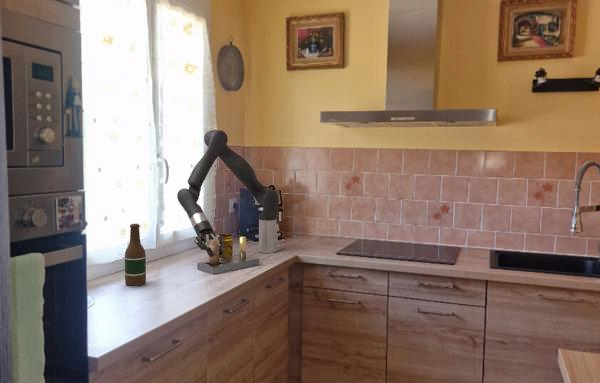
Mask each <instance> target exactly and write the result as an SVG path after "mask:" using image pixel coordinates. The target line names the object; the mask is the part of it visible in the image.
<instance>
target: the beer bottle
mask: <svg viewBox="0 0 600 383" xmlns="http://www.w3.org/2000/svg"><path fill="white" fill-rule="evenodd" d="M140 228H141V225H140V223H131V224H130V225H129V229H130V232H129V233H130V234H129V244H128V246H127V247H126V250H125V251H124V283H125V286H126V287H128V286H138V287H141V285H143V286H144V285H146V280H147V267H146V266H147V261H146V260H147V257H146V250H145V248H144V246H143V245H142V243H141V235H140V232H141V231H140Z"/></svg>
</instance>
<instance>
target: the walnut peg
mask: <svg viewBox="0 0 600 383" xmlns="http://www.w3.org/2000/svg"><path fill="white" fill-rule="evenodd" d="M209 246H210V247H209V248H211V250H212V252H213V254H214V255H213V256H212V257H210V256H209V255H208V256H209V257H208V261H209V265H211V266H215V265H219V256H220V255H219V240H218V239H212V240H209Z"/></svg>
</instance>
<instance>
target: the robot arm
mask: <svg viewBox="0 0 600 383" xmlns="http://www.w3.org/2000/svg"><path fill="white" fill-rule="evenodd" d="M228 140H229V137H228V135H227V133H226V132H225V131H224V130H221V129H214V130H208V131H207V132H206V133H205V134H204V136H203V141H204V144H205V146H206V147H207V149H206V150H205V152H204V155H203V156H202V157H201V158H200V160H199V161H198V162H197V163H196V164H195V166H194V167H193V169H192V170H191V173H190V175H189V177H188V179H187V184H188V185H189V186H188V188H184V187H183V188H180V189H179V190H178V192H177V194H176V197H177V201H178V203H179V204H180V205H181V208H182V209H184V211H185V213H186V214H187V216H188V219H189V221H190V224H191V226H192V228H193V230H194V232H195V234H196V237H195V239H194V240H193V242H194V243H195V244H196V245H197V247H198V248H199V249H200V250H201V251H206V253H207V255H208V256H210V257H212V256H213V255H214V254H213V252H212V250H211V248H209V247H210V246H209V240H212V239H218V240H219V256H221V255H222V254H223V250H222V248H221V246H222V245H223V240H222V235H221V234H222V233H219V234H216V233H215V232H214V229H213V227H212V224H211V223H210V221H209V218H208V217H207V216H206V214H205V212H204V211H203V208H202V207H201V206H200V205H199V204H198V203H197V202H198V201H199V199H200V196H201V195H200V193H201V191H202V186H203V184H204V182H205V180H206V178H207V175H208V174H209V172H210V171H211V168H212V167H213V165H214V163H215V162H216V161H217V159H218V158H219V159H220V160H221V161H222V162H223V164H224V165H225V166H226V167H227V168H228V169H229V171H231V173H232V174H233V175H234V176H235V177H236V178H237V179H238V181H240V183H241V184H242V185H244V187H245V188H246V189H247V190H248V191H249V192H250V193H251V196H252V197H253V198H254V199H255V201H257V203H258V204H259V205H260V206H262V212H261V213H259V215H258V252H259V253H263V254H271V253H272V254H273V253H276V252H277V251H279V250H278V242H279V241H278V240H279V238H278V235H279V234H278V232H277V217H278V215H279V205H280V203H279V201H280V199H279V197H280V196H279V193H278V192H277V191H276V190H275V189H269V188H266V187H265V186H264V185H263V184H262V183H261V182H260V181H259V179H258V177H257V175H256V171H255V170H254V168H253V167H252V166H251V164H249V162H248V161H247V160H246V159H245V158H244V157H242V156H241V155H240V154H238V153H237V152H235V151H234V150H232V149H231V148H230V147H229V146H228V145H227V144H228Z"/></svg>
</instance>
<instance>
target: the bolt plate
mask: <svg viewBox="0 0 600 383" xmlns="http://www.w3.org/2000/svg"><path fill="white" fill-rule="evenodd" d="M238 250H239V254H238V255H232V257H227V258H221V259H219V265H215V266H211V265H209V260H206V261H201V262H197V263H196V267H197V268H196V270H197V271H201V272H203V273H204V272H205V273H207V274H210V275H216V274H217V275H218V274H222V273H223V274H224V273H226V272H231V271H236V270H243V269H246V268H251V267H257V266H259V265H260V258H257V257H253V256H250V255H247V237H246V236H239V248H238Z"/></svg>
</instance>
